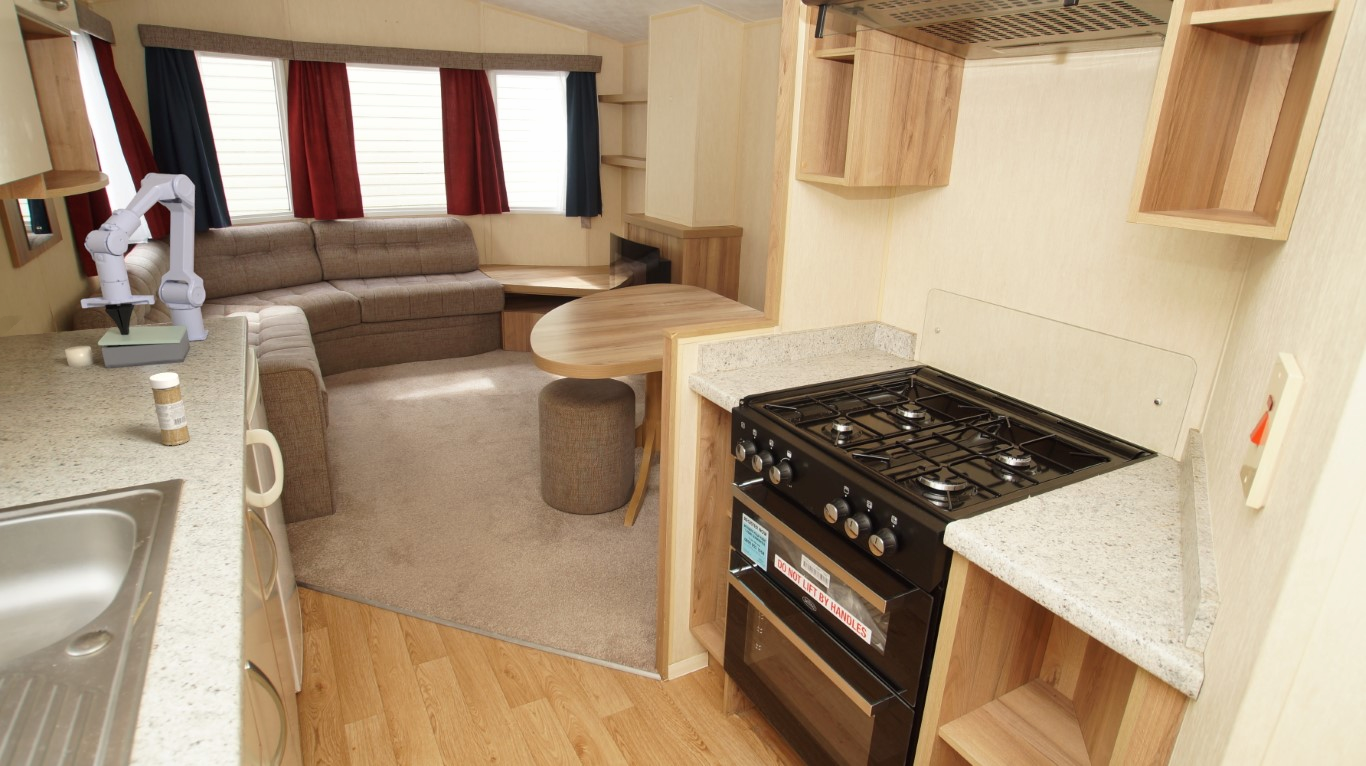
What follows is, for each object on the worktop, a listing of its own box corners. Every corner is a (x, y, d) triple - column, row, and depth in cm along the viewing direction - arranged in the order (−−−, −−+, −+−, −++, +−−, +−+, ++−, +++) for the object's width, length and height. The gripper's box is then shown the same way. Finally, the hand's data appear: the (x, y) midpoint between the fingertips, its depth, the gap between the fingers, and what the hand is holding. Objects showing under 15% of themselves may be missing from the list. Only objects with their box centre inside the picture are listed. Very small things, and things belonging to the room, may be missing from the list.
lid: (111, 330, 193) (110, 327, 192) (187, 328, 200) (186, 325, 200) (98, 345, 180) (97, 342, 180) (179, 342, 187) (179, 339, 187)
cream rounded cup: (71, 362, 186) (67, 346, 185) (96, 360, 188) (92, 345, 187) (66, 368, 182) (62, 352, 181) (91, 366, 184) (87, 350, 183)
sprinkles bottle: (184, 435, 147) (171, 369, 143) (195, 441, 145) (182, 375, 140) (158, 442, 143) (144, 375, 139) (168, 448, 141) (154, 380, 137)
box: (117, 352, 194) (113, 334, 193) (190, 347, 201) (186, 329, 200) (105, 368, 183) (101, 348, 181) (183, 361, 189) (179, 342, 188)
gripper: (73, 285, 177) (85, 340, 182) (146, 281, 183) (157, 335, 188) (80, 279, 183) (92, 333, 188) (151, 276, 189) (161, 328, 194)
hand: (125, 333), depth 188 cm, fingers closed
